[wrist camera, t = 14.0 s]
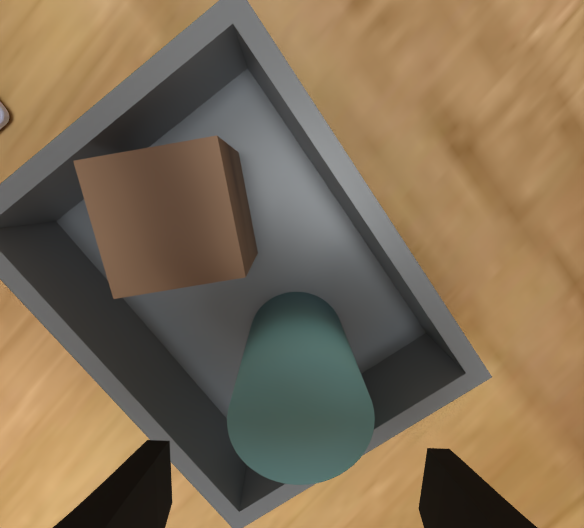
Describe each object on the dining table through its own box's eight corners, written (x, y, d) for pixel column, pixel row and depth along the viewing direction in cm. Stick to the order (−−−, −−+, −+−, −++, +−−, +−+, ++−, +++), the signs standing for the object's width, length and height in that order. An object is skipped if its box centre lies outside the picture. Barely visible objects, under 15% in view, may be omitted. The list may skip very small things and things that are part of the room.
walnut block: (162, 269, 17) (113, 299, 13) (137, 170, 16) (73, 160, 11) (258, 253, 17) (245, 277, 12) (238, 152, 16) (217, 135, 11)
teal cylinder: (247, 374, 19) (224, 480, 12) (252, 288, 18) (229, 349, 11) (337, 380, 19) (365, 488, 12) (347, 295, 18) (384, 360, 11)
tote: (44, 216, 18) (-50, 225, 13) (253, 48, 16) (237, -15, 11) (248, 451, 21) (236, 531, 16) (439, 329, 19) (492, 377, 14)
